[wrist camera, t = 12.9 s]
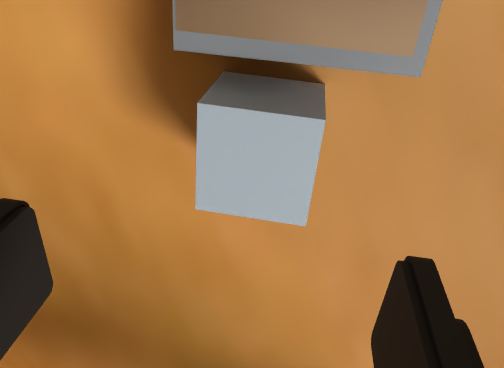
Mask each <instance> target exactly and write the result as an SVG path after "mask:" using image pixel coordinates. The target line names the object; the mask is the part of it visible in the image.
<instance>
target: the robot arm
mask: <svg viewBox="0 0 504 368" xmlns="http://www.w3.org/2000/svg"><path fill="white" fill-rule="evenodd" d="M52 287H53V280H52V276H51V272H50V268H49V265H48V261H47V257H46V253H45V249H44V246H43V242H42V238H41V234H40V230H39V226H38V223H37V219H36V215H35V212H34V210H33V209H32V208H30V207H29V204H28V203H27V202H25V201H20V200H13V199H6V198H3V199H0V360H1V359H2V357H3V356H4V355H5V353H6V352H7V351H8V349H9V348H10V347H11V345H12V344H13V343H14V341H15V340H16V339H17V337H18V336H19V335H20V334H21V332H22V331H23V330H24V328H25V327H26V326H27V324H28V323H29V322H30V320H31V319H32V318H33V316H34V315H35V314H36V312H37V311H38V310H39V308H40V307H41V306H42V304H43V303H44V302H45V300H46V299H47V298H48V296H49V295H50V293H51V291H52ZM371 348H372V356H373V363H374V368H484V366H483V363H482V361H481V358H480V356H479V353H478V350H477V348H476V345H475V343H474V340H473V338H472V335H471V333H470V330H469V328H468V326H467V324H466V323H465V322H464V321H463V320H460V319H455V317H454V314H453V312H452V309H451V306H450V303H449V301H448V298H447V295H446V293H445V290H444V287H443V284H442V282H441V279H440V276H439V273H438V271H437V268H436V265H435V263H434V261H433V260H432V259H428V258H420V257H413V256H407V257H406V258H405V260H404V261H397V263H396V265H395V268H394V271H393V274H392V277H391V280H390V282H389V285H388V288H387V291H386V294H385V297H384V300H383V303H382V306H381V308H380V311H379V314H378V317H377V320H376V323H375V326H374V329H373V332H372V337H371Z"/></svg>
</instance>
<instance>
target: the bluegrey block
mask: <svg viewBox="0 0 504 368" xmlns="http://www.w3.org/2000/svg"><path fill="white" fill-rule="evenodd" d="M325 121H326V113H325V84H321V83H313V82H305V81H297V80H289V79H281V78H273V77H265V76H257V75H249V74H241V73H233V72H225V71H223V72H222V74H221V75H220V76H219V77H218V78H217V80H216V81H215V82H214V83H213V85H212V86H211V87H210V88H209V89H208V91H207V92H206V93H205V94H204V95H203V97H202V98H201V99H200V100H199V101H198V103H197V148H196V208H195V209H198V210H204V211H211V212H217V213H223V214H230V215H236V216H243V217H249V218H255V219H262V220H268V221H275V222H281V223H287V224H294V225H300V226H306V222H307V217H308V211H309V206H310V201H311V196H312V190H313V185H314V180H315V174H316V169H317V164H318V158H319V153H320V148H321V142H322V137H323V132H324V127H325Z"/></svg>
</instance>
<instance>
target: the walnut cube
mask: <svg viewBox="0 0 504 368" xmlns="http://www.w3.org/2000/svg"><path fill="white" fill-rule="evenodd" d="M427 3H428V0H175V21H176V30H178V31H187V32H196V33H205V34H213V35H222V36H231V37H240V38H249V39H258V40H267V41H275V42H284V43H293V44H302V45H311V46H320V47H328V48H337V49H346V50H355V51H364V52H373V53H382V54H390V55H399V56H408V57H413V54H414V50H415V47H416V43H417V39H418V36H419V32H420V28H421V25H422V21H423V18H424V14H425V10H426V7H427Z"/></svg>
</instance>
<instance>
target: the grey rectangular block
mask: <svg viewBox="0 0 504 368" xmlns="http://www.w3.org/2000/svg"><path fill="white" fill-rule="evenodd" d="M442 1H443V0H428V3H427V7H426V10H425V14H424V18H423V21H422V25H421V28H420V32H419V36H418V39H417V43H416V47H415V50H414V54H413V57H408V56H399V55H390V54H382V53H373V52H364V51H355V50H346V49H337V48H328V47H320V46H311V45H302V44H293V43H284V42H275V41H267V40H258V39H249V38H240V37H231V36H222V35H213V34H205V33H196V32H187V31H178V30H176V21H175V0H172V5H173V48H174V50H178V51H187V52H196V53H205V54H214V55H224V56H233V57H242V58H251V59H260V60H269V61H278V62H287V63H296V64H305V65H314V66H323V67H332V68H341V69H350V70H359V71H368V72H377V73H386V74H395V75H404V76H413V77H421V74H422V71H423V67H424V64H425V60H426V57H427V53H428V50H429V46H430V43H431V39H432V36H433V32H434V29H435V25H436V22H437V18H438V15H439V11H440V8H441V4H442Z"/></svg>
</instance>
